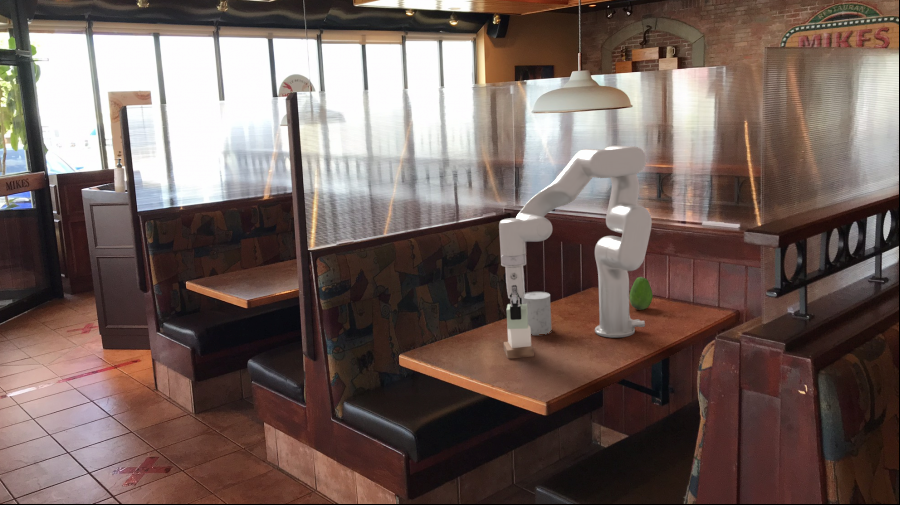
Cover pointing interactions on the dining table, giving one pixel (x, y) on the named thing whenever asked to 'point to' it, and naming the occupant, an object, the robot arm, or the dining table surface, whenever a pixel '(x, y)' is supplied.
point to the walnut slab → (518, 351)
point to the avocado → (641, 294)
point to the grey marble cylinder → (538, 312)
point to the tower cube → (519, 337)
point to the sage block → (518, 323)
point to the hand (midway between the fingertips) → (516, 314)
